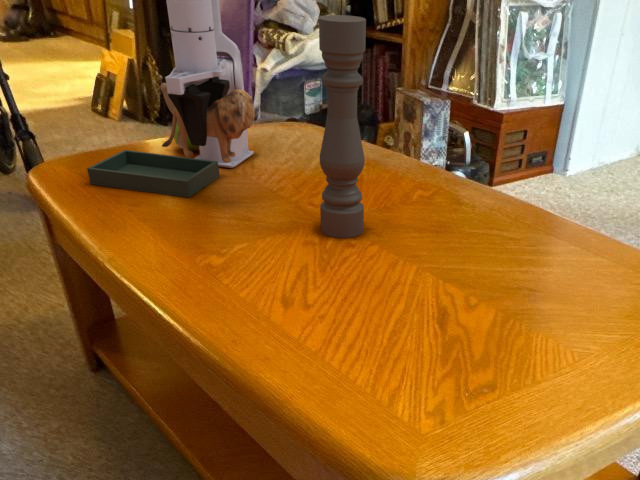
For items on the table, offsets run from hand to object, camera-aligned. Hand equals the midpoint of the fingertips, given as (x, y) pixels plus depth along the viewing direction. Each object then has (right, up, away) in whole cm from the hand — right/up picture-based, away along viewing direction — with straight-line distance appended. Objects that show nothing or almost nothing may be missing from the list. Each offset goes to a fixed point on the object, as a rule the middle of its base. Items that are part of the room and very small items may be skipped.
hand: (205, 140), depth 99 cm
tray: (-11, -1, +11) cm, 16 cm away
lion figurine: (+1, -2, +2) cm, 2 cm away
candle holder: (+20, -14, -2) cm, 25 cm away
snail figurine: (-9, +11, +24) cm, 28 cm away
